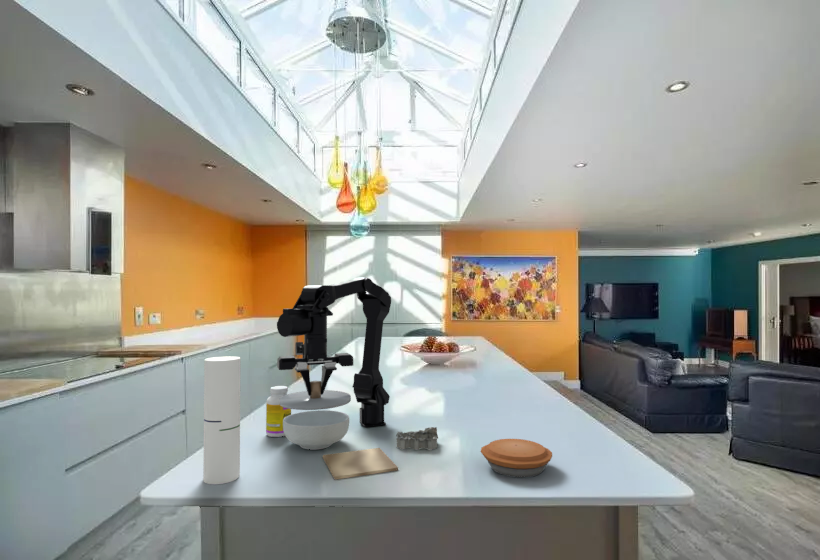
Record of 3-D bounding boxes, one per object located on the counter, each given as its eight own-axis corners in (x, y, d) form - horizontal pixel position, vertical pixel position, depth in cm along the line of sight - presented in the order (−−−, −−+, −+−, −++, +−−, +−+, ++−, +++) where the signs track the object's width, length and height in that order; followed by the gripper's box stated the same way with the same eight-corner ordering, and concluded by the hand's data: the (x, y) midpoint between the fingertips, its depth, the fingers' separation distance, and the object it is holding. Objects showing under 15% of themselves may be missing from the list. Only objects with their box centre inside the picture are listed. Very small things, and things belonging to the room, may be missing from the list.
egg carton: (438, 442, 121) (438, 426, 121) (436, 452, 114) (437, 435, 114) (398, 440, 122) (398, 425, 123) (394, 450, 115) (394, 433, 115)
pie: (566, 467, 103) (565, 445, 103) (528, 488, 92) (528, 463, 92) (506, 451, 114) (506, 430, 114) (467, 468, 103) (466, 445, 103)
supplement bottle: (284, 438, 124) (284, 390, 124) (261, 437, 125) (261, 389, 126) (295, 431, 131) (295, 385, 131) (273, 430, 132) (273, 384, 132)
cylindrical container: (210, 471, 101) (211, 356, 102) (243, 470, 102) (244, 356, 102) (198, 485, 94) (199, 361, 95) (234, 483, 94) (235, 360, 95)
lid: (342, 391, 131) (342, 373, 131) (358, 405, 114) (358, 385, 114) (276, 397, 124) (276, 378, 124) (282, 412, 107) (282, 391, 108)
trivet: (379, 450, 114) (379, 447, 114) (398, 470, 101) (398, 467, 101) (322, 457, 109) (322, 455, 109) (334, 479, 96) (334, 476, 96)
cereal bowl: (362, 444, 119) (362, 416, 119) (308, 461, 107) (308, 430, 107) (323, 431, 131) (323, 406, 131) (270, 445, 119) (270, 417, 119)
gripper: (344, 330, 130) (344, 386, 130) (275, 332, 124) (275, 391, 123) (353, 333, 120) (353, 394, 119) (279, 336, 113) (279, 400, 113)
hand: (315, 394), depth 119 cm, fingers closed on lid, 3 cm apart
